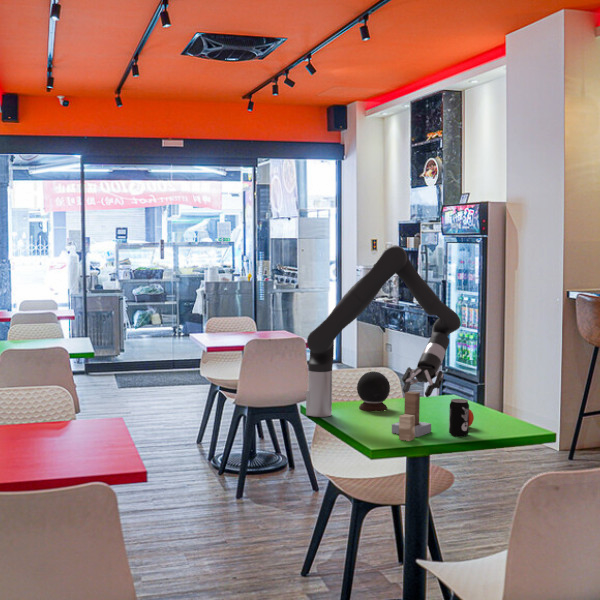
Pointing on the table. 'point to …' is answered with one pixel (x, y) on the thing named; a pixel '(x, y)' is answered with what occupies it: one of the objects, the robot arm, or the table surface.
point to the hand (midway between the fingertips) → (415, 394)
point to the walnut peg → (412, 405)
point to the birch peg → (406, 427)
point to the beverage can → (459, 417)
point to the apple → (470, 417)
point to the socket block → (419, 429)
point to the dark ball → (373, 391)
